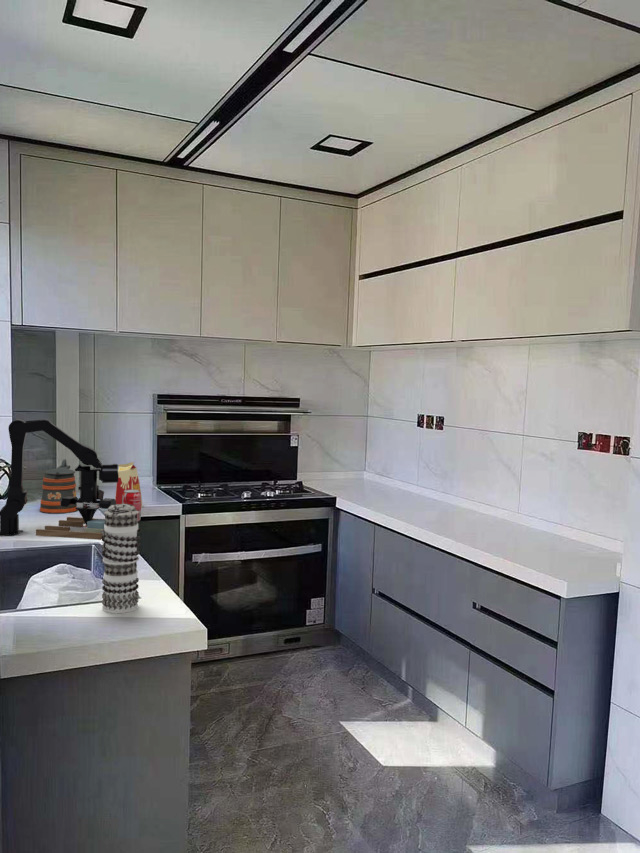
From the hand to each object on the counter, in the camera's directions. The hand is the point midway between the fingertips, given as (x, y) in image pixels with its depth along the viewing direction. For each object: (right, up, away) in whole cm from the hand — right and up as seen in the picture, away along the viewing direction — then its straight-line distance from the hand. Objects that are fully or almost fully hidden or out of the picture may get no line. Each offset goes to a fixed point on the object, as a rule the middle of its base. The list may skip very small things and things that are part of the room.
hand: (88, 526), depth 247 cm
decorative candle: (+35, -8, -81) cm, 88 cm away
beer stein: (-24, +1, +37) cm, 44 cm away
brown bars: (0, -2, 0) cm, 2 cm away
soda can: (+11, -1, +18) cm, 21 cm away
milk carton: (+2, +1, +44) cm, 44 cm away
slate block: (+4, -2, -1) cm, 5 cm away
